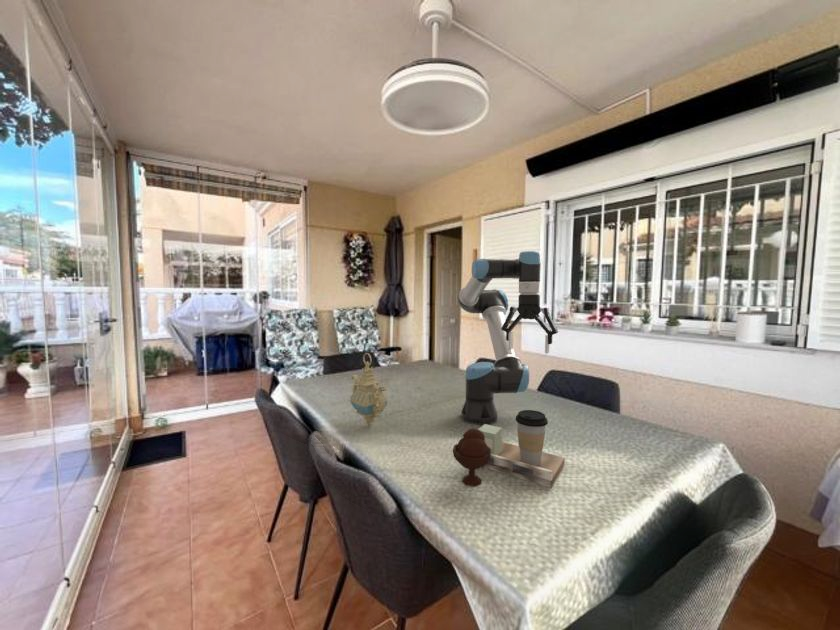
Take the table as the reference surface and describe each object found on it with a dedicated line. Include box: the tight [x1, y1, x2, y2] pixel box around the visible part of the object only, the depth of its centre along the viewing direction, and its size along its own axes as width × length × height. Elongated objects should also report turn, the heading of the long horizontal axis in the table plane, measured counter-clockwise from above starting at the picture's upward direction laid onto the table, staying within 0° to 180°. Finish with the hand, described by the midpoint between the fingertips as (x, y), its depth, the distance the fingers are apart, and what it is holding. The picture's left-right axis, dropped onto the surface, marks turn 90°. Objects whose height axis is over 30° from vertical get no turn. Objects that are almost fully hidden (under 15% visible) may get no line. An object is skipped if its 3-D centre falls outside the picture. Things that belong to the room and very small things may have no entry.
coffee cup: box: [514, 409, 549, 466], centre depth 109 cm, size 9×9×15 cm
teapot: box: [349, 352, 388, 428], centre depth 141 cm, size 24×12×30 cm, turn 39°
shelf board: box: [482, 441, 566, 489], centre depth 112 cm, size 24×16×4 cm
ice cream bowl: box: [452, 428, 491, 487], centre depth 102 cm, size 11×11×15 cm
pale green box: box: [477, 424, 503, 455], centre depth 115 cm, size 6×6×8 cm
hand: (528, 351), depth 132 cm, fingers open, 13 cm apart
